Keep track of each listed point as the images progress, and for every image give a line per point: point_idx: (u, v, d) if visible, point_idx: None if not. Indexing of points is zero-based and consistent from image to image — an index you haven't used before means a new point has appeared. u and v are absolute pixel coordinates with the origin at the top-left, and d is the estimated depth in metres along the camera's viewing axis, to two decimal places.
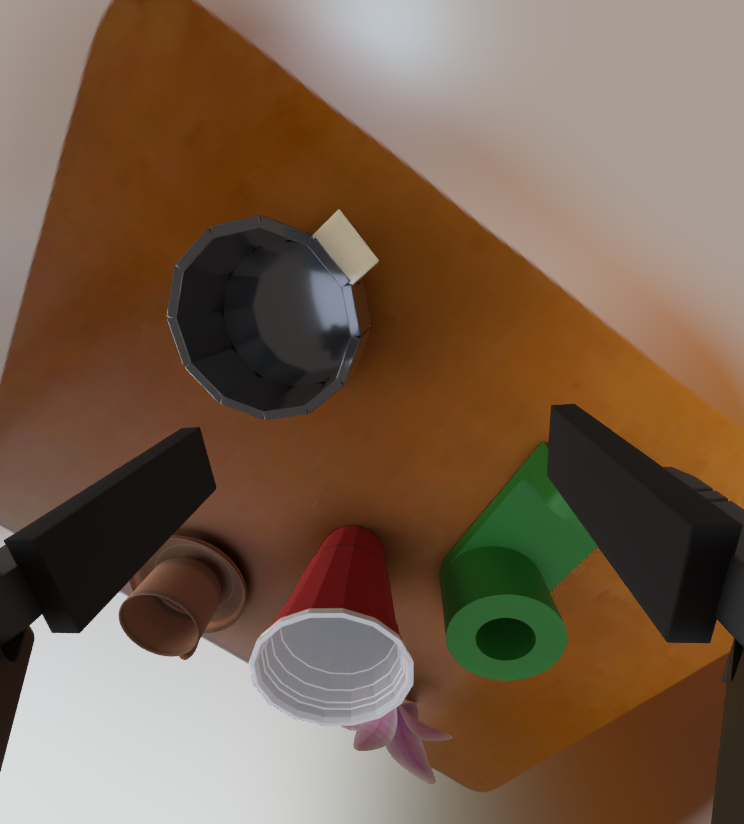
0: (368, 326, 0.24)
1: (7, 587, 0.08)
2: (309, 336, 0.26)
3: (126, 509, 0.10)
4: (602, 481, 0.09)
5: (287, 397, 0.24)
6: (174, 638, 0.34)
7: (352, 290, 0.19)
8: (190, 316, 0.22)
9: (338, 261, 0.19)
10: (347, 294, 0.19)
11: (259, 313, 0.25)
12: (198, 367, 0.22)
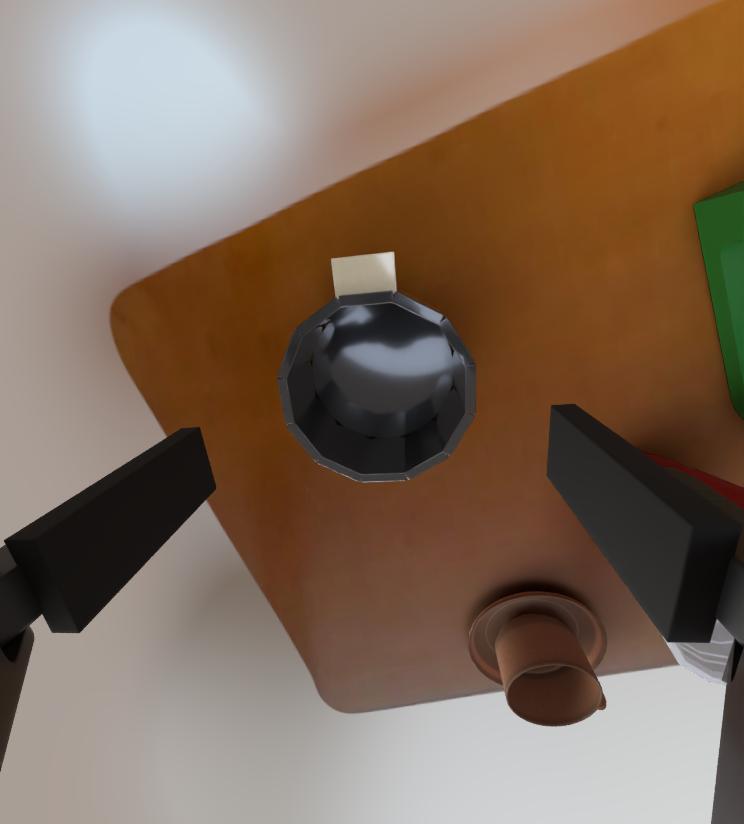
0: None
1: (7, 587, 0.08)
2: (406, 369, 0.25)
3: (126, 509, 0.10)
4: (602, 481, 0.09)
5: (444, 424, 0.23)
6: (575, 696, 0.31)
7: (401, 294, 0.18)
8: (327, 446, 0.23)
9: (369, 289, 0.18)
10: (401, 301, 0.18)
11: (359, 395, 0.26)
12: (368, 472, 0.22)
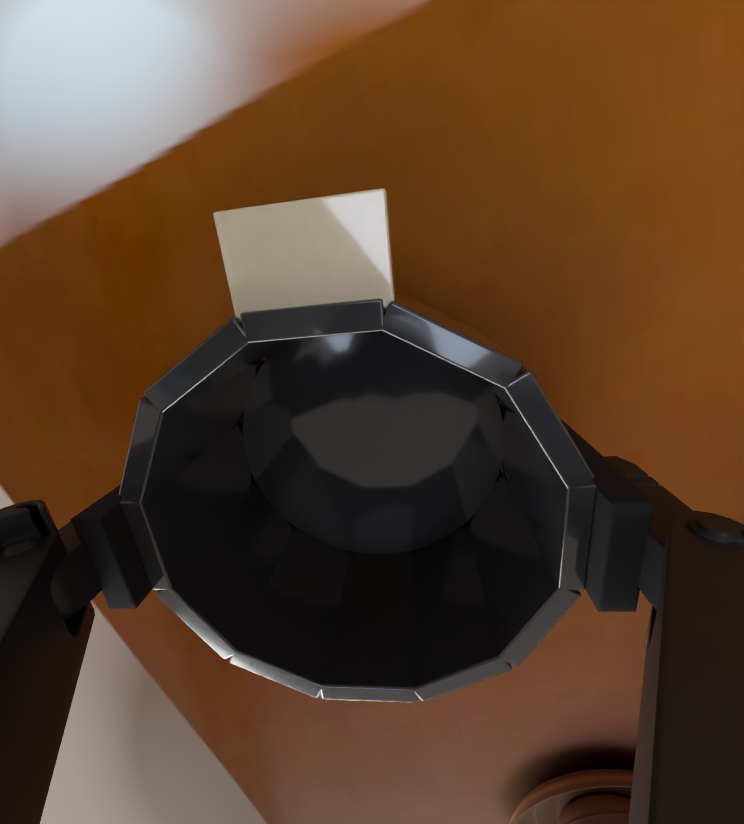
0: None
1: (72, 565, 0.08)
2: (414, 442, 0.13)
3: None
4: None
5: (492, 565, 0.11)
6: None
7: (406, 308, 0.07)
8: (257, 608, 0.12)
9: (322, 296, 0.07)
10: (407, 327, 0.07)
11: (329, 485, 0.14)
12: (336, 678, 0.10)
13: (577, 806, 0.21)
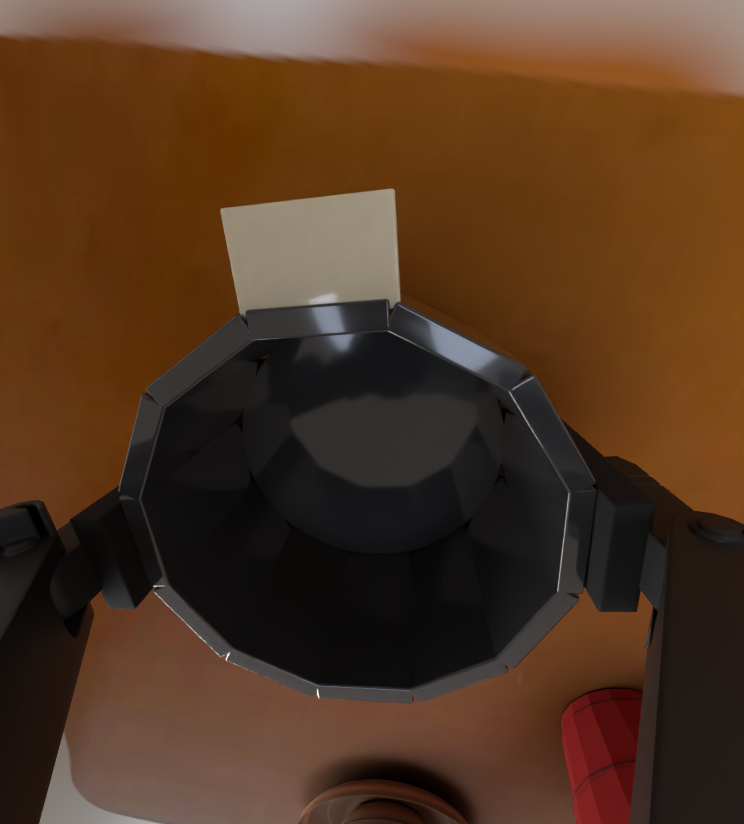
0: (483, 336, 0.10)
1: (71, 565, 0.08)
2: (414, 443, 0.13)
3: None
4: None
5: (490, 568, 0.11)
6: None
7: (413, 309, 0.07)
8: (254, 606, 0.11)
9: (328, 295, 0.07)
10: (413, 328, 0.07)
11: (328, 484, 0.14)
12: (333, 678, 0.10)
13: (372, 808, 0.23)
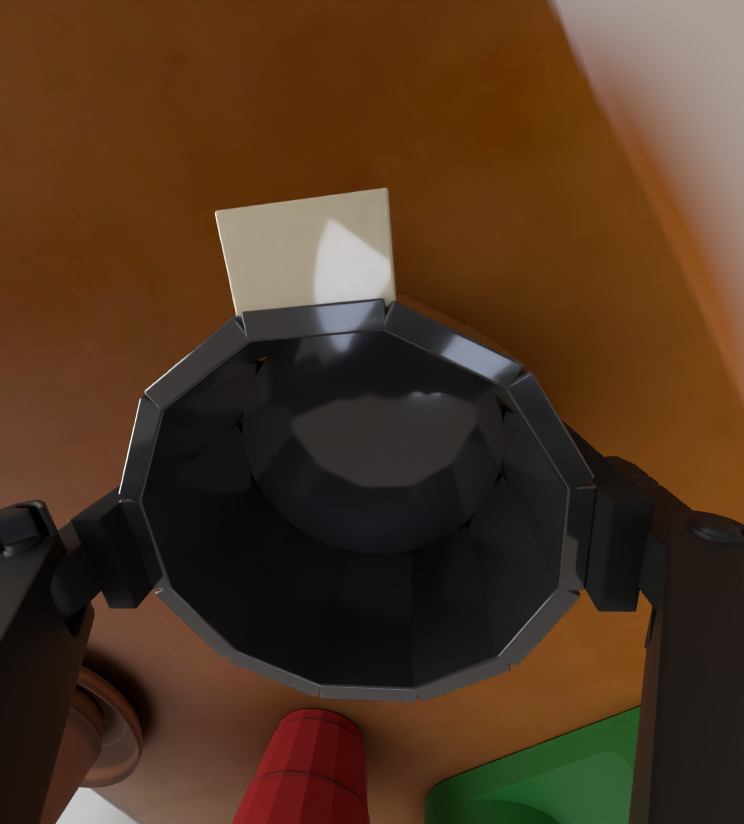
0: (481, 334, 0.10)
1: (72, 565, 0.08)
2: (414, 442, 0.13)
3: None
4: None
5: (491, 566, 0.11)
6: None
7: (408, 308, 0.07)
8: (257, 607, 0.12)
9: (323, 295, 0.07)
10: (408, 327, 0.07)
11: (329, 484, 0.14)
12: (336, 678, 0.10)
13: None
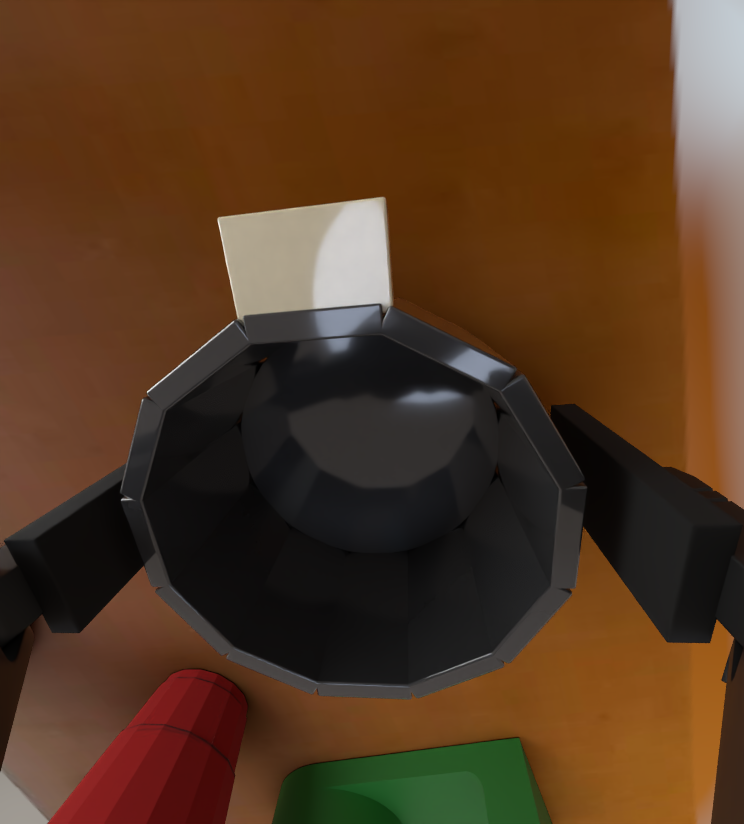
0: (476, 337, 0.11)
1: (7, 587, 0.08)
2: (411, 444, 0.14)
3: None
4: (602, 481, 0.09)
5: (486, 565, 0.12)
6: None
7: (405, 313, 0.07)
8: (255, 606, 0.12)
9: (323, 300, 0.07)
10: (405, 331, 0.07)
11: (327, 485, 0.14)
12: (332, 675, 0.11)
13: None
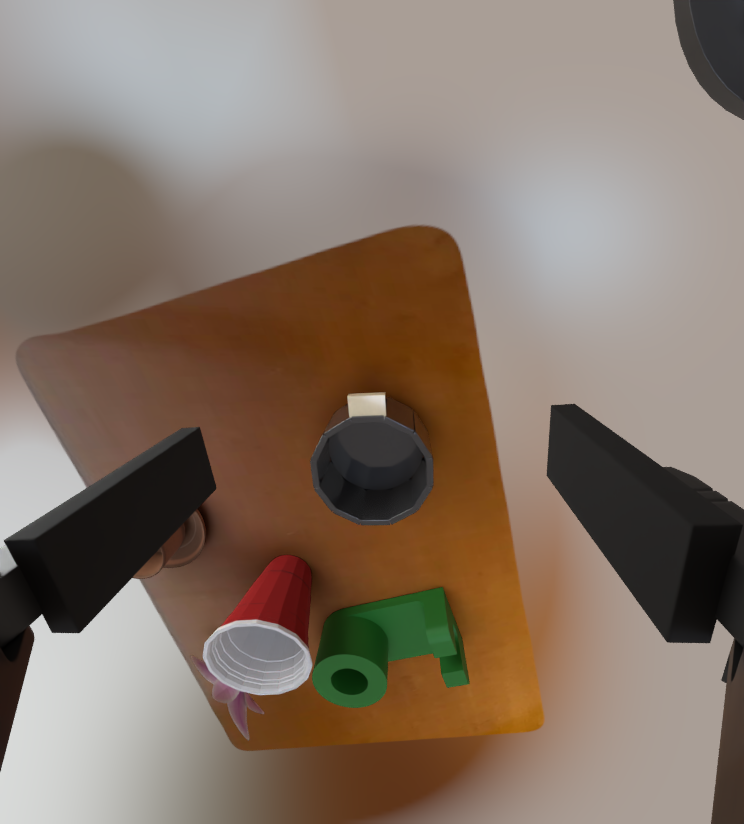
0: (412, 414, 0.34)
1: (7, 587, 0.08)
2: (392, 447, 0.37)
3: (126, 509, 0.10)
4: (602, 481, 0.09)
5: (415, 487, 0.35)
6: None
7: (388, 417, 0.30)
8: (338, 500, 0.35)
9: (370, 414, 0.31)
10: (388, 421, 0.31)
11: (360, 462, 0.38)
12: (365, 518, 0.34)
13: None
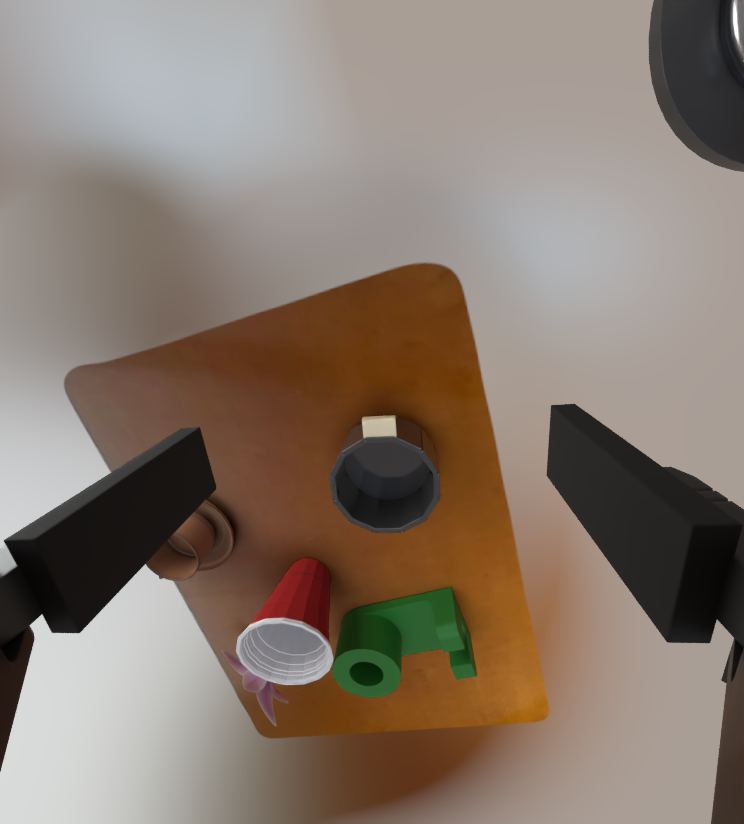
0: (420, 432, 0.38)
1: (7, 587, 0.08)
2: (402, 460, 0.41)
3: (126, 509, 0.10)
4: (602, 481, 0.09)
5: (424, 498, 0.39)
6: (162, 562, 0.46)
7: (399, 438, 0.34)
8: (354, 510, 0.39)
9: (382, 435, 0.34)
10: (399, 441, 0.34)
11: (373, 474, 0.42)
12: (379, 527, 0.38)
13: (206, 519, 0.47)
